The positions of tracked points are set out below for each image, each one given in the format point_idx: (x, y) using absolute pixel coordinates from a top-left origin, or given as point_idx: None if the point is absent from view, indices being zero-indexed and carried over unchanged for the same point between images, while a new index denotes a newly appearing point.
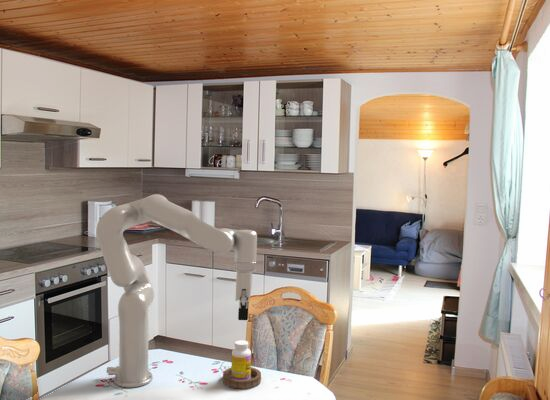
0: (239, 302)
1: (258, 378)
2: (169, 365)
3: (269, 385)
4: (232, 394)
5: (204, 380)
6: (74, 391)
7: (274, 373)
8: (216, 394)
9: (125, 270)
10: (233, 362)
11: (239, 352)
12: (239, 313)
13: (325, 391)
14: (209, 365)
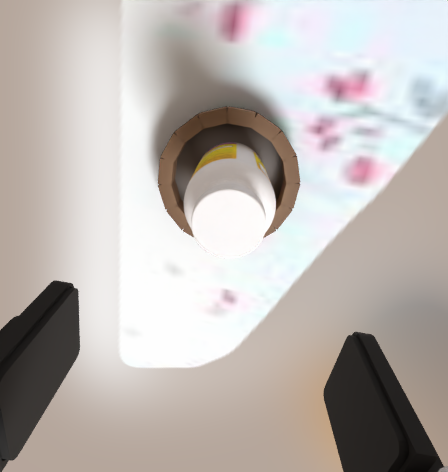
0: (402, 421)
1: (185, 231)
2: None
3: (186, 253)
4: (128, 129)
5: (257, 27)
6: None
7: (269, 283)
8: (129, 69)
9: None
10: (210, 158)
11: (193, 196)
12: (14, 333)
13: (140, 366)
14: (407, 64)
